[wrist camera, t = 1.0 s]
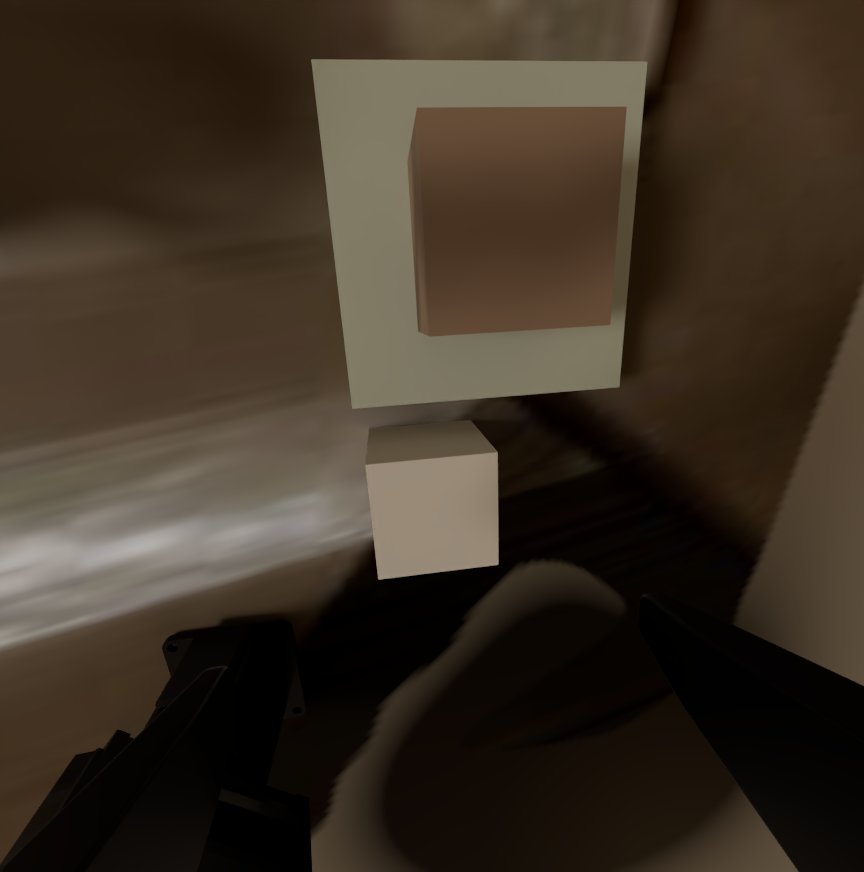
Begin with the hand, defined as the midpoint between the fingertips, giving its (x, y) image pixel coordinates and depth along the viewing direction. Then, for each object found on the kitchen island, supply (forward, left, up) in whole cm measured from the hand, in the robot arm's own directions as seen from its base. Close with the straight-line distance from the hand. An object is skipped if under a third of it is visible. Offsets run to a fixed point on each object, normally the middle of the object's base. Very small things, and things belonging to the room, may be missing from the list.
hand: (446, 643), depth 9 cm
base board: (+9, -4, -12) cm, 15 cm away
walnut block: (+9, -4, -10) cm, 14 cm away
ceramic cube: (-1, -1, -12) cm, 12 cm away
